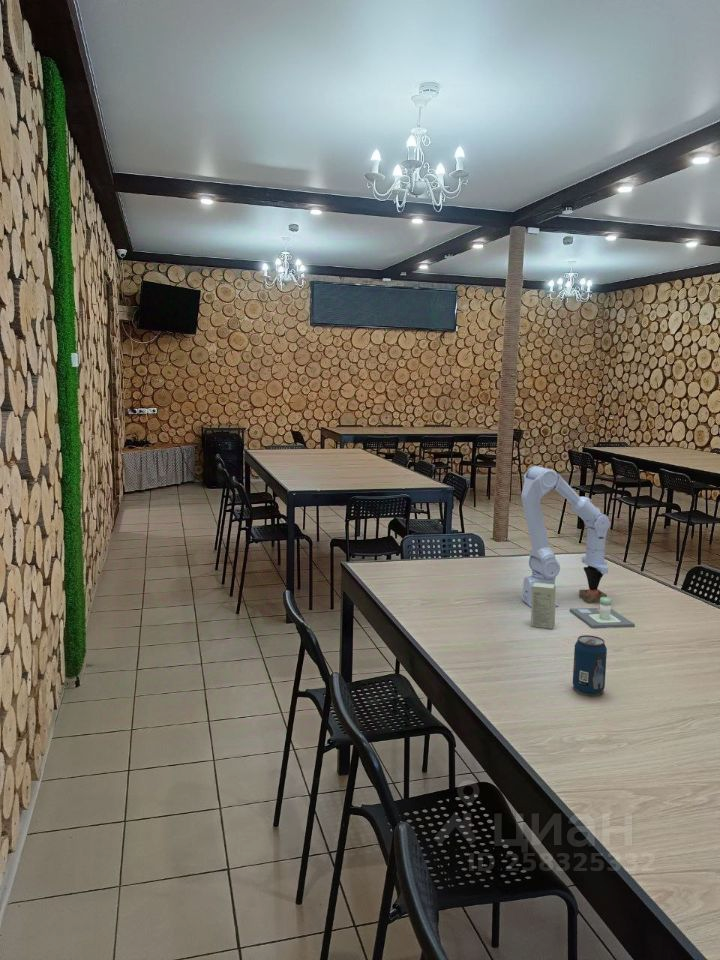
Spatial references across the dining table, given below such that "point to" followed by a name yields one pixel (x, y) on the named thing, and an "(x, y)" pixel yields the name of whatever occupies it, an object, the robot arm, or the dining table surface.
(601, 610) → the pale green cylinder
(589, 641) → the soda can
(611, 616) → the picture board
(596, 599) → the button box
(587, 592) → the button
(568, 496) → the robot arm
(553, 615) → the skincare box
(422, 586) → the dining table surface
